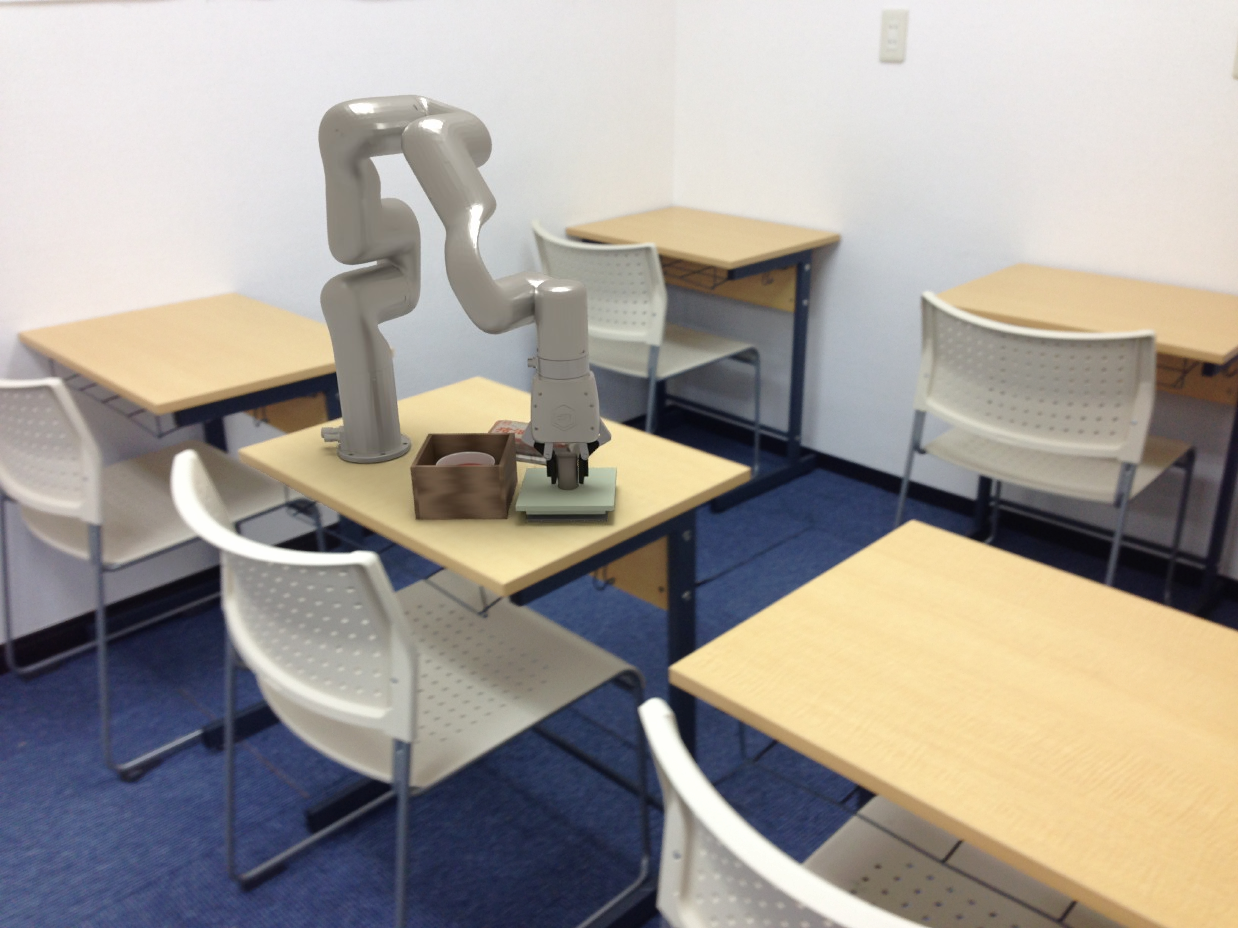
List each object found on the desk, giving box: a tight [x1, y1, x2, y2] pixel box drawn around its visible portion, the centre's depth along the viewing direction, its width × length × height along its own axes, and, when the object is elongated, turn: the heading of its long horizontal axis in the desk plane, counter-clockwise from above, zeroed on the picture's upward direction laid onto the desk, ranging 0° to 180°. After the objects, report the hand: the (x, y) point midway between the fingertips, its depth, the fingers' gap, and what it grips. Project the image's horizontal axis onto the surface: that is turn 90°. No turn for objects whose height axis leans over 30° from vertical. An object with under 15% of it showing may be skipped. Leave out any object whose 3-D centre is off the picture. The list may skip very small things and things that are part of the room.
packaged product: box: [487, 419, 580, 466], centre depth 180 cm, size 18×5×10 cm
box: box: [409, 432, 519, 520], centre depth 161 cm, size 14×14×8 cm
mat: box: [526, 511, 609, 523], centre depth 160 cm, size 12×12×1 cm
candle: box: [436, 452, 495, 465], centre depth 162 cm, size 9×9×6 cm
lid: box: [515, 452, 618, 515], centre depth 159 cm, size 14×14×7 cm
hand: (568, 479), depth 159 cm, fingers open, 3 cm apart
